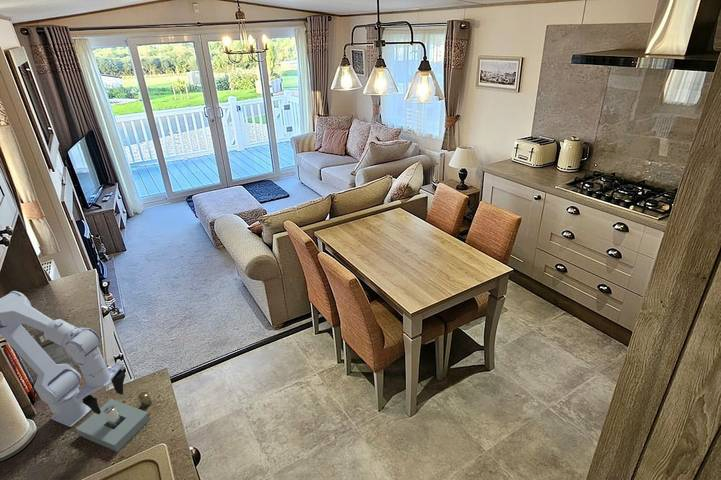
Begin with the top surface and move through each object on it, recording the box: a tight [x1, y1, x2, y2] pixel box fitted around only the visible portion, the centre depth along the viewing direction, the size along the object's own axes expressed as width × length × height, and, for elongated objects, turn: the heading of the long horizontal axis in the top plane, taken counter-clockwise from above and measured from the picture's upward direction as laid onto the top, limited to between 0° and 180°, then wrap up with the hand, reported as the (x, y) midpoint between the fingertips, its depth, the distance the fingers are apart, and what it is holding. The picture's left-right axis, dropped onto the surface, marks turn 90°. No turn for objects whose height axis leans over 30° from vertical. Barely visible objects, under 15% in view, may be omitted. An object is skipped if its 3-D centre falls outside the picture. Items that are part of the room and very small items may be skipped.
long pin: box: [104, 406, 122, 429], centre depth 123 cm, size 3×3×8 cm
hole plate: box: [75, 398, 152, 453], centre depth 124 cm, size 16×12×3 cm
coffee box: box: [34, 331, 77, 371], centre depth 144 cm, size 9×6×16 cm
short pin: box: [137, 391, 152, 409], centre depth 132 cm, size 3×3×4 cm
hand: (109, 402), depth 122 cm, fingers open, 7 cm apart
